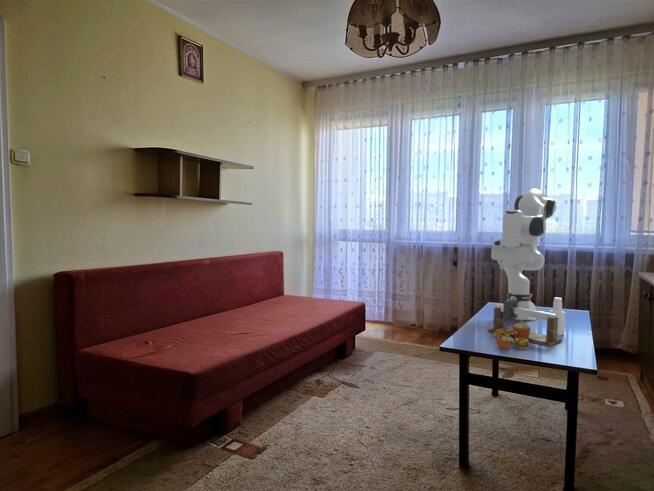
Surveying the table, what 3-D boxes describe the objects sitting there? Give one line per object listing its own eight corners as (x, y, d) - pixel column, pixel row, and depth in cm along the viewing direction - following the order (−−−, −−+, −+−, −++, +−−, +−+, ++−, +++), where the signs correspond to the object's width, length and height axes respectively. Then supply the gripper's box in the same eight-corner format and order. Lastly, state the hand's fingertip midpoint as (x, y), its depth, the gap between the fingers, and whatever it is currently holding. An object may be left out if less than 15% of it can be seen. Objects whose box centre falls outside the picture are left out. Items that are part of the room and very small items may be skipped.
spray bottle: (551, 331, 213) (552, 296, 212) (565, 333, 209) (567, 298, 207) (546, 333, 209) (548, 297, 207) (561, 336, 204) (563, 299, 203)
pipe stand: (488, 331, 210) (489, 304, 209) (500, 328, 218) (501, 301, 217) (549, 346, 187) (551, 316, 186) (561, 342, 194) (563, 312, 193)
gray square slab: (503, 319, 205) (503, 301, 205) (512, 316, 211) (513, 299, 210) (507, 320, 203) (508, 301, 203) (517, 317, 209) (518, 299, 208)
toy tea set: (493, 334, 206) (494, 315, 206) (528, 338, 201) (529, 318, 200) (493, 349, 182) (494, 328, 182) (533, 354, 177) (534, 332, 176)
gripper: (536, 243, 202) (535, 272, 203) (496, 241, 218) (495, 267, 219) (529, 244, 198) (528, 273, 199) (489, 241, 214) (489, 268, 215)
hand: (511, 270), depth 209 cm, fingers open, 8 cm apart
